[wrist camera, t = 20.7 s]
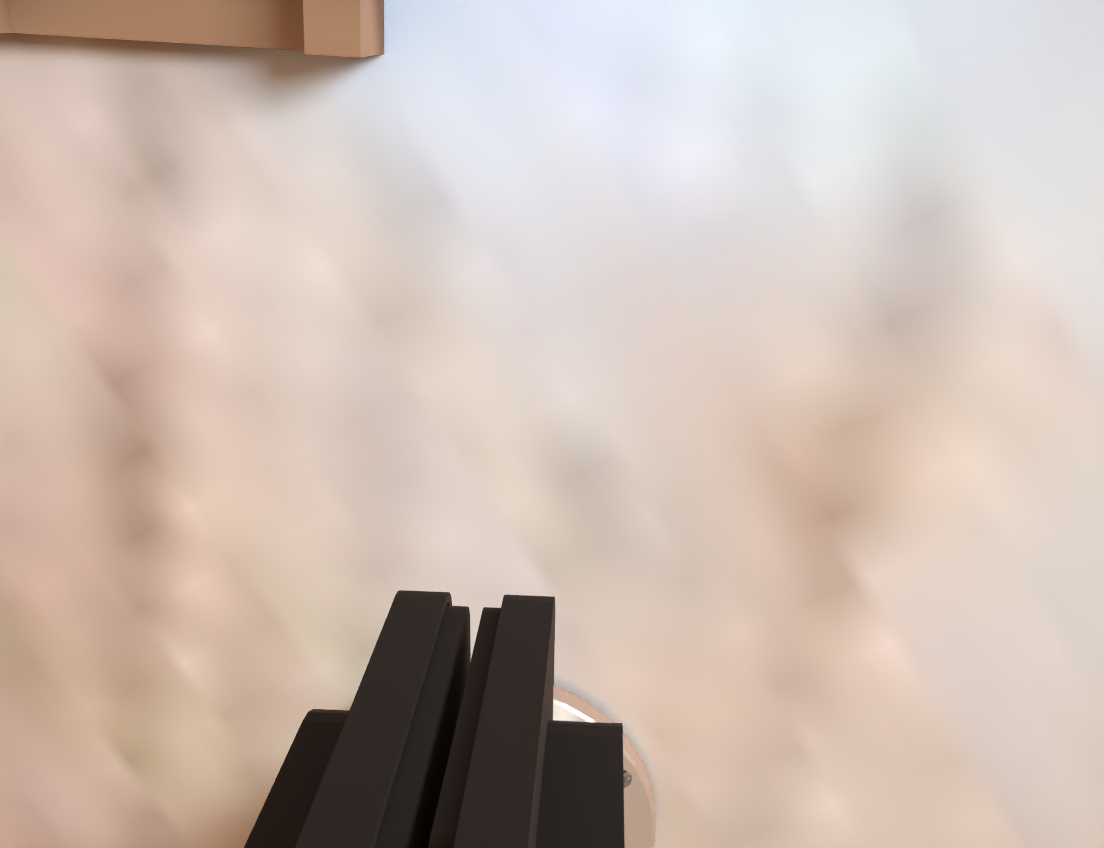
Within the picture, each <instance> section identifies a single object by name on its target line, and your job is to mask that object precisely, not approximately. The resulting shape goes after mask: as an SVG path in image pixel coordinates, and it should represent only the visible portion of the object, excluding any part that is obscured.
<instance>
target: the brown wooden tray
mask: <svg viewBox="0 0 1104 848" xmlns="http://www.w3.org/2000/svg"><path fill="white" fill-rule="evenodd" d="M0 33H22V34H38V35H55V36H71V37H88V38H104V39H121V40H137V41H154V42H170V43H187V44H203V45H220V46H236V47H253V48H269V49H286V50H302V51H304V53H305V54H309V55H326V56H342V57H359V58H361V57H367V56H374V55H380V54H384V0H0Z"/></svg>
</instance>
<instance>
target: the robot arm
mask: <svg viewBox="0 0 1104 848" xmlns="http://www.w3.org/2000/svg"><path fill="white" fill-rule="evenodd" d="M554 642H555V597H546V596H522V595H504V597H503V602H502V607H501V608H487V607H484V608H483V611H482V615H481V620H480V624H479V628H478V633H477V637H476V641H475V645H474V650H473V654H472V658H471V663H470V612H469V607H463V606H452V600H451V595H450V592H426V591H402V590H400V591H398V592H397V594H396V595H395V598H394V600H393V603H392V605H391V608H390V611H389V613H388V616H387V618H386V621H385V623H384V626H383V628H382V631H381V633H380V636H379V638H378V641H377V643H376V646H375V648H374V651H373V653H372V656H371V658H370V661H369V663H368V666H367V668H366V671H365V673H364V676H363V678H362V681H361V683H360V686H359V688H358V691H357V693H356V696H355V698H354V701H353V703H352V706H351V708H350V711H344V710H323V709H313V710H311V711H309V712H308V713H307V715H306V716H305V718H304V720H303V721H302V724H301V726H300V728H299V730H298V732H297V734H296V737H295V739H294V741H293V743H292V745H291V747H290V749H289V752H288V754H287V756H286V758H285V760H284V762H283V765H282V767H281V769H280V771H279V773H278V775H277V778H276V780H275V782H274V784H273V786H272V788H271V791H270V793H269V795H268V797H267V799H266V801H265V804H264V806H263V808H262V810H261V812H260V814H259V816H258V819H257V821H256V823H255V825H254V827H253V829H252V832H251V834H250V836H249V838H248V840H247V842H246V845H245V847H244V848H653V847H654V843H655V807H654V799H653V791H652V785H651V783H650V780H649V777H648V775H647V772H646V769H645V767H644V764H643V761H642V760H641V758H640V757H639V755H638V753H637V752H636V750H635V749H634V747H633V746H632V744H631V743H630V741H629V739H628V738H627V737H626V736H625V735H624V734H623V726H622V723H613V722H612V721H611V720H610V719H609V718H608V717H607V716H606V715H604V714H603V713H602V712H600V711H599V710H597V709H596V708H594V707H593V706H592V705H590V704H589V703H587V702H586V701H585V700H583V699H582V698H580V697H578V696H576V695H574V694H572V693H570V692H568V691H566V690H563V689H561V688H559V687H557V686H555V685H554Z"/></svg>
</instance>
